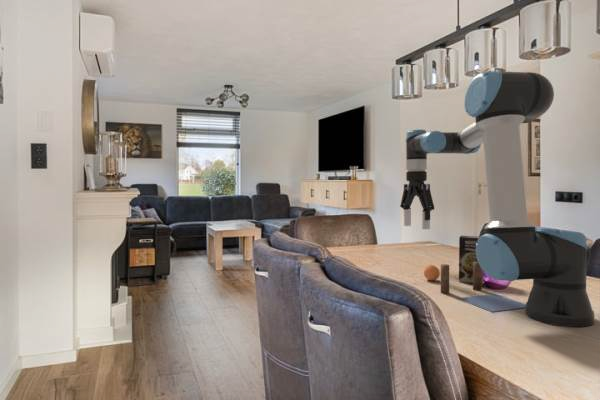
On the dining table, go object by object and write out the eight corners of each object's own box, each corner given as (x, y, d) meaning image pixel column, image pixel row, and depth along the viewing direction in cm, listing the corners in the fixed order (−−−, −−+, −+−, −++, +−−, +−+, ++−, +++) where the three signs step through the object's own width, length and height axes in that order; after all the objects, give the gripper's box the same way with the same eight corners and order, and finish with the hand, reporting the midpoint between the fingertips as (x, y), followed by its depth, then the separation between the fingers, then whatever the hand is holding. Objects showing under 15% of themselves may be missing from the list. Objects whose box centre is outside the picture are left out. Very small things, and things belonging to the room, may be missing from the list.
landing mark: (532, 307, 115) (532, 306, 115) (491, 312, 110) (491, 311, 110) (494, 294, 128) (494, 294, 128) (457, 298, 124) (457, 298, 124)
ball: (442, 281, 146) (442, 266, 146) (429, 282, 144) (429, 267, 144) (433, 278, 151) (433, 263, 151) (420, 279, 150) (420, 264, 149)
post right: (483, 290, 134) (483, 262, 133) (476, 290, 133) (476, 263, 132) (477, 288, 136) (477, 261, 136) (471, 288, 135) (471, 262, 135)
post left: (451, 293, 130) (451, 265, 129) (444, 294, 129) (444, 266, 129) (445, 291, 132) (445, 264, 132) (439, 292, 132) (439, 264, 131)
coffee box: (458, 281, 145) (458, 237, 145) (460, 278, 151) (460, 235, 150) (486, 284, 141) (486, 238, 140) (487, 280, 147) (487, 236, 146)
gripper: (444, 169, 145) (444, 230, 146) (407, 171, 168) (407, 224, 169) (426, 169, 143) (426, 231, 144) (391, 171, 166) (391, 224, 166)
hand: (416, 227), depth 156 cm, fingers open, 12 cm apart
